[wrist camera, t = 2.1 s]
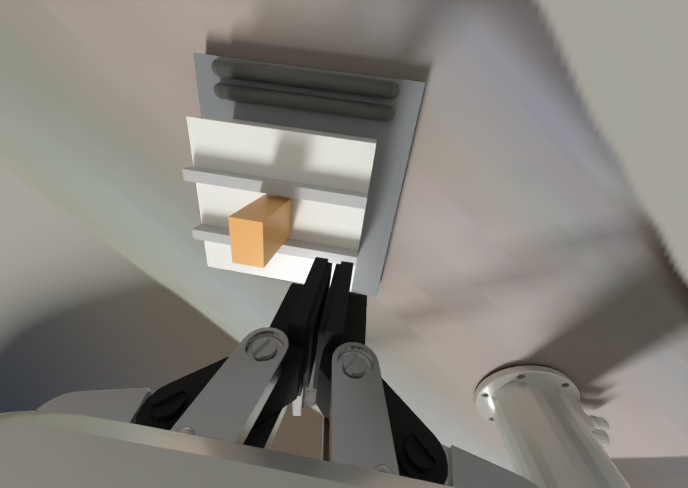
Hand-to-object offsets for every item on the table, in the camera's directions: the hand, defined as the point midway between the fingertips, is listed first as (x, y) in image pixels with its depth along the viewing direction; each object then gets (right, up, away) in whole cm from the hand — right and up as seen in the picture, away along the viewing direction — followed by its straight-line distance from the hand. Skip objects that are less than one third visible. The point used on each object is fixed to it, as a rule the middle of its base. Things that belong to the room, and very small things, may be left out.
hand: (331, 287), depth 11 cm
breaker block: (-4, +7, +15) cm, 17 cm away
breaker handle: (-5, +4, +8) cm, 10 cm away
